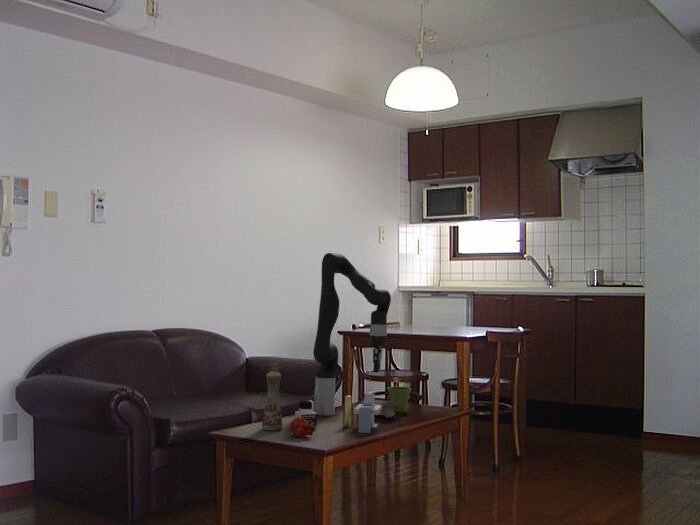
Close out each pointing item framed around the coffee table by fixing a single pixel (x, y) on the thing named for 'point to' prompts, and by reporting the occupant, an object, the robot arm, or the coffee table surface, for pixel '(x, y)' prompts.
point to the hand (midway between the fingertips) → (376, 371)
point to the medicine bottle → (307, 412)
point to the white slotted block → (389, 408)
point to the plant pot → (399, 397)
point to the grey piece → (375, 411)
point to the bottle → (272, 401)
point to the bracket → (365, 418)
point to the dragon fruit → (301, 427)
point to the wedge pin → (347, 411)
